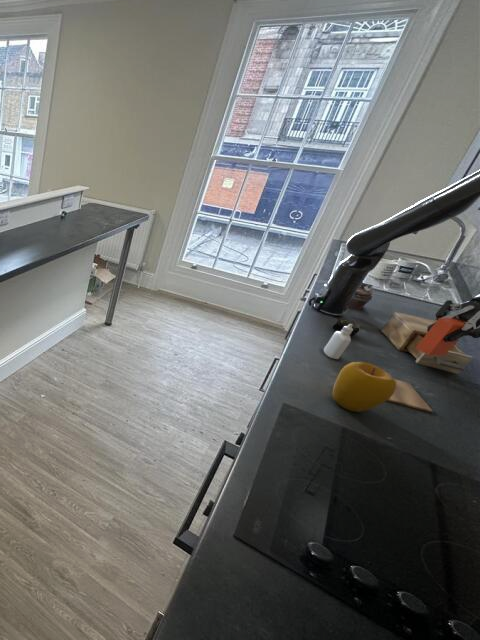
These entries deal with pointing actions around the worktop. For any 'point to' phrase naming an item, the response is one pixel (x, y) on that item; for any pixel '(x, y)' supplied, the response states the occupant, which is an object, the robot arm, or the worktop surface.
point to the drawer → (439, 356)
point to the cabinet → (405, 329)
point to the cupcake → (361, 296)
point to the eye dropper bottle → (338, 342)
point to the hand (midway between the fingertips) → (437, 335)
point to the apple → (362, 387)
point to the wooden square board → (408, 396)
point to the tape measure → (342, 323)
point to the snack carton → (439, 336)
